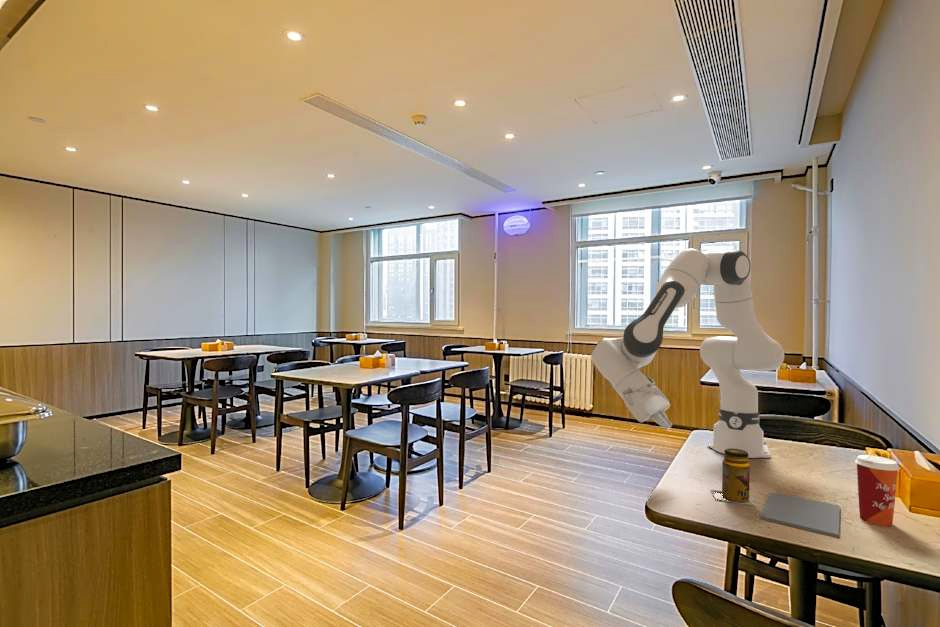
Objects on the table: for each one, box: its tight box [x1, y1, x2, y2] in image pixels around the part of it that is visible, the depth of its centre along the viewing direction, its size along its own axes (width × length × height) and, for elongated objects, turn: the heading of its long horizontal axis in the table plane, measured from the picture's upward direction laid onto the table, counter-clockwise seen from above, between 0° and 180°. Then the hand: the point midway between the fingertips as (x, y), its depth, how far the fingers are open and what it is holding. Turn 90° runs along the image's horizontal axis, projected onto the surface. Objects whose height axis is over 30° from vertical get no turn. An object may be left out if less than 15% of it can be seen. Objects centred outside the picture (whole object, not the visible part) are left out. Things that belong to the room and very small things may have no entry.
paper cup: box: [854, 454, 901, 527], centre depth 108 cm, size 8×8×14 cm
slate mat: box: [760, 491, 841, 538], centre depth 112 cm, size 20×14×1 cm
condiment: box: [710, 448, 755, 506], centre depth 121 cm, size 7×8×12 cm
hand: (669, 428), depth 130 cm, fingers closed
